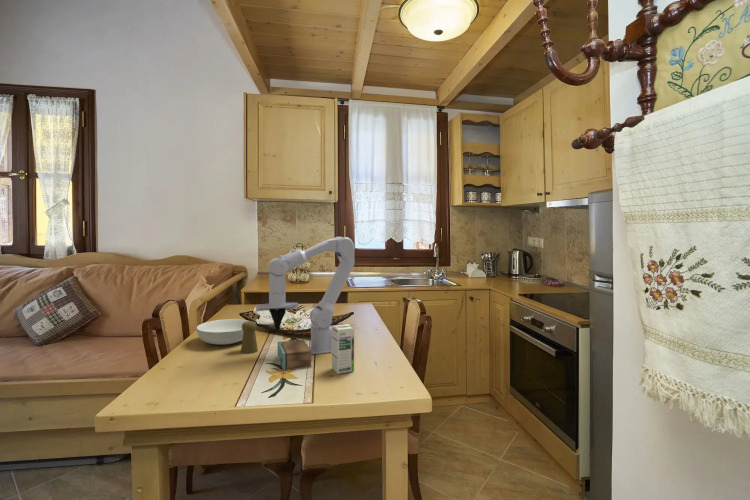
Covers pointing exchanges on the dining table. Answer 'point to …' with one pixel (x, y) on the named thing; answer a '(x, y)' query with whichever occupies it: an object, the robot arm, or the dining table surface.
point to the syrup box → (343, 348)
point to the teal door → (281, 355)
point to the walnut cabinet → (297, 354)
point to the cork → (249, 338)
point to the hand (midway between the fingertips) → (277, 329)
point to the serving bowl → (221, 331)
